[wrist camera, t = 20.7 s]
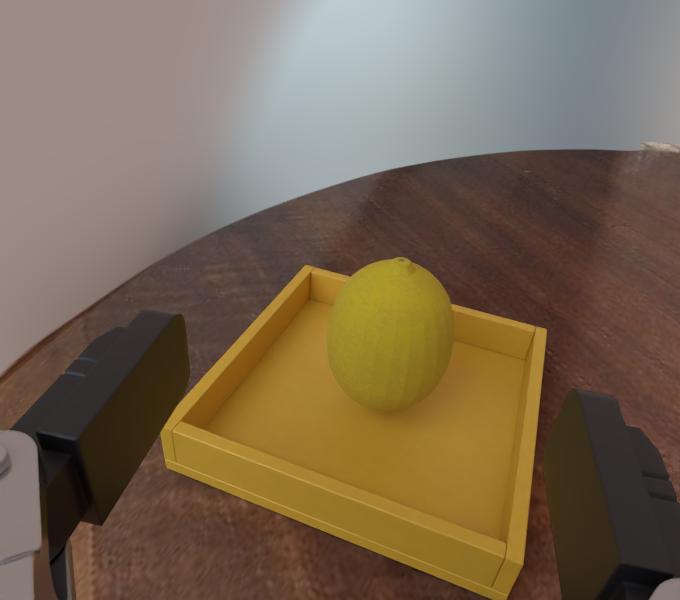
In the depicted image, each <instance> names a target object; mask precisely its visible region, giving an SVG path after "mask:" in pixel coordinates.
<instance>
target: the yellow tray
mask: <svg viewBox="0 0 680 600" xmlns="http://www.w3.org/2000/svg"><path fill="white" fill-rule="evenodd" d="M350 278H351V277H349V276H345V275H341V274H338V273H334V272H330V271H326V270H323V269H319V268H314V267H312V266H308V265H305V266H304V267H303V268H302V270H301V271H300V272H299V273H298V274H297V275H296V276H295V277H294V278H293V279H292V280H291V282H290V283H289V284H288V285H287V286H286V287H285V288H284V289H283V290H282V291H281V293H280V294H279V295H278V296H277V297H276V298H275V299H274V300H273V301H272V302H271V304H270V305H269V306H268V307H267V308H266V309H265V310H264V311H263V312H262V313H261V314H260V316H259V317H258V318H257V319H256V320H255V321H254V322H253V323H252V324H251V325H250V327H249V328H248V329H247V330H246V331H245V332H244V333H243V334H242V335H241V336H240V338H239V339H238V340H237V341H236V342H235V343H234V344H233V345H232V346H231V347H230V348H229V350H228V351H227V352H226V353H225V354H224V355H223V356H222V357H221V358H220V359H219V361H218V362H217V363H216V364H215V365H214V366H213V367H212V368H211V369H210V370H209V372H208V373H207V374H206V375H205V376H204V377H203V378H202V379H201V380H200V381H199V382H198V384H197V385H196V386H195V387H194V388H193V389H192V390H191V391H190V392H189V393H188V395H187V396H186V397H185V398H184V399H183V400H182V401H181V402H180V403H179V404H178V405H177V407H176V408H175V410H174V411H173V413H172V415H171V416H170V418H169V419H168V421H167V423H166V424H165V426H164V427H163V429H162V431H161V432H160V434H161V440H162V446H163V452H164V458H165V464H166V468H168V469H171V470H173V471H176V472H178V473H181V474H183V475H185V476H188V477H190V478H193V479H195V480H198V481H200V482H203V483H205V484H208V485H210V486H213V487H215V488H218V489H220V490H223V491H225V492H228V493H230V494H232V495H235V496H237V497H240V498H242V499H245V500H247V501H250V502H252V503H255V504H257V505H260V506H262V507H265V508H267V509H270V510H272V511H275V512H277V513H279V514H282V515H284V516H287V517H289V518H292V519H294V520H297V521H299V522H302V523H304V524H307V525H309V526H312V527H314V528H317V529H319V530H322V531H324V532H326V533H329V534H331V535H334V536H336V537H339V538H341V539H344V540H346V541H349V542H351V543H354V544H356V545H359V546H361V547H364V548H366V549H369V550H371V551H374V552H376V553H378V554H381V555H383V556H386V557H388V558H391V559H393V560H396V561H398V562H401V563H403V564H406V565H408V566H411V567H413V568H416V569H418V570H421V571H423V572H425V573H428V574H430V575H433V576H435V577H438V578H440V579H443V580H445V581H448V582H450V583H453V584H455V585H458V586H460V587H463V588H465V589H468V590H470V591H472V592H475V593H477V594H480V595H482V596H485V597H487V598H490V599H492V600H506V599H507V597H508V595H509V593H510V591H511V589H512V587H513V585H514V583H515V581H516V579H517V577H518V575H519V573H520V571H521V568H522V566H523V564H524V555H525V545H526V535H527V525H528V515H529V505H530V495H531V485H532V475H533V465H534V455H535V446H536V436H537V426H538V416H539V406H540V396H541V386H542V376H543V366H544V356H545V346H546V336H547V329H544V328H540V327H535V326H533V325H529V324H525V323H521V322H518V321H514V320H510V319H506V318H503V317H499V316H495V315H491V314H488V313H484V312H480V311H476V310H473V309H469V308H465V307H461V306H458V305H454V304H451V307H452V311H453V317H454V342H453V347H452V353H451V358H450V361H449V365H448V367H447V370H446V372H445V374H444V376H443V377H442V379H441V380H440V382H439V383H438V385H437V386H436V388H435V389H434V391H433V392H432V393H431V394H430V395H428V396H427V397H426V398H424V399H423V400H422V401H421V402H419V403H418V404H415V405H413V406H411V407H408V408H406V409H402V410H396V411H379V410H375V409H371V408H368V407H366V406H364V405H361V404H359V403H358V402H356V401H355V400H353V399H352V398H350V397H349V396H348V395H347V394H346V393H345V391H344V390H343V389H342V388H341V387H340V386H339V384H338V382H337V381H336V379H335V377H334V375H333V372H332V370H331V367H330V364H329V358H328V350H327V330H328V324H329V320H330V317H331V313H332V310H333V307H334V304H335V301H336V299H337V296H338V294H339V292H340V291H341V289H342V287H343V286H344V285H345V283H346V282H347V281H348V280H349V279H350Z"/></svg>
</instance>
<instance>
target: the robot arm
mask: <svg viewBox="0 0 680 600" xmlns="http://www.w3.org/2000/svg"><path fill="white" fill-rule="evenodd" d="M189 375H190V365H189V356H188V346H187V337H186V327H185V320H184V318H183V316H182V315H181V314H177V313H172V312H166V311H161V310H156V309H150V308H146V309H144V310H142V311H141V312H140V313H139V314H138V315H137V317H136V318H135V319H134V320H133V321H132V322H131V323H130V325H129V326H128V327H127V328H122V327H116V328H114V329H112V330H111V331H109V332H107V333H105V334H104V335H102V336H100V337H98V338H97V339H95V340H94V341H93V342H92V343H91V344H90V345H89V346H88V347H87V348H86V349H85V350H84V351H83V352H82V353H81V355H80V356H79V358H78V360H75V361H74V362H73V363H72V364H71V365H70V366H69V367H68V368H67V369H66V370H65V374H64V375H63V374H62V375H61V376H60V377H59V378H58V379H57V380H56V381H55V382H54V383H53V384H52V385H51V386H50V388H49V389H48V390H47V391H46V392H45V393H44V394H43V395H42V396H41V397H40V398H39V399H38V400H37V401H36V402H35V403H34V405H33V406H32V407H31V408H30V409H29V410H28V411H27V412H26V413H25V414H24V415H23V416H22V417H21V418H20V419H19V420H18V422H17V423H16V424H15V425H14V426H13V427H12V428H11V429H10V430H3V431H0V600H76V592H75V580H74V569H73V558H72V547H71V541H70V536H71V534H72V533H73V531H74V530H75V528H76V527H77V525H78V524H79V522H80V521H83V522H87V523H91V524H95V525H99V526H102V525H103V523H104V522H105V520H106V518H107V517H108V515H109V514H110V512H111V510H112V509H113V507H114V506H115V504H116V502H117V501H118V499H119V498H120V496H121V495H122V493H123V491H124V490H125V488H126V487H127V485H128V483H129V482H130V480H131V479H132V477H133V475H134V474H135V472H136V471H137V469H138V467H139V466H140V464H141V463H142V461H143V459H144V458H145V456H146V455H147V453H148V451H149V450H150V448H151V447H152V445H153V443H154V442H155V440H156V439H157V437H158V435H159V434H160V432H161V431H162V429H163V427H164V426H165V424H166V423H167V421H168V419H169V418H170V416H171V415H172V413H173V411H174V410H175V408H176V407H177V405H178V403H179V402H180V400H181V399H182V397H183V395H184V393H185V391H186V388H187V385H188V381H189ZM543 473H544V480H545V487H546V494H547V500H548V507H549V514H550V520H551V527H552V534H553V541H554V547H555V554H556V561H557V567H558V574H559V581H560V588H561V594H562V600H680V504H679V503H678V502H676V499H677V496H676V494H675V491H674V488H673V486H672V483H671V482H670V481H669V480H668V478H669V475H668V473H667V470H666V468H665V465H664V462H663V460H662V457H661V455H660V452H659V451H658V449H657V448H656V447H655V446H654V445H653V443H652V442H651V441H650V440H649V439H648V437H647V436H646V435H645V434H644V433H643V432H642V430H641V429H640V428H636V427H631V426H626V425H625V423H624V420H623V417H622V414H621V411H620V408H619V405H618V402H617V400H616V398H615V397H614V396H611V395H606V394H600V393H595V392H589V391H584V390H579V389H571V390H570V391H569V392H568V394H567V396H566V398H565V400H564V403H563V405H562V407H561V410H560V412H559V414H558V416H557V419H556V421H555V423H554V425H553V428H552V430H551V432H550V434H549V437H548V439H547V442H546V445H545V449H544V456H543Z"/></svg>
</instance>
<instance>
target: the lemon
mask: <svg viewBox="0 0 680 600" xmlns="http://www.w3.org/2000/svg"><path fill="white" fill-rule="evenodd" d="M453 342H454V317H453V311H452V307H451V303H450V299H449V296H448V294H447V292H446V290H445V289H444V287H443V286H442V285H441V283H440V282H439V281H438V279H437V278H436V277H434V276H433V275H432V274H431V273H430V272H429V271H428V270H426V269H424V268H423V267H421V266H419V265H417V264H415V263H412V262H410V261H409V260H408V259H406V258H403V257H398V258H395V259H389V260H382V261H378V262H375V263H372V264H370V265H367V266H365V267H364V268H362V269H361V270H359V271H358V272H356V273H355V274H353V275H352V277H351V278H350V279H349V280H348V281H347V282H346V283H345V285H344V286H343V287H342V289H341V291H340V292H339V294H338V296H337V299H336V301H335V304H334V307H333V310H332V313H331V317H330V320H329V324H328V330H327V350H328V358H329V364H330V367H331V370H332V372H333V375H334V377H335V379H336V381H337V382H338V384H339V386H340V387H341V388H342V389H343V390H344V391H345V393H346V394H347V395H348V396H349V397H350V398H352V399H353V400H355V401H356V402H358V403H359V404H361V405H364V406H366V407H368V408H371V409H375V410H379V411H396V410H402V409H406V408H408V407H411V406H413V405H415V404H418V403H419V402H421V401H422V400H423V399H424V398H426V397H427V396H428V395H430V394H431V393H432V392H433V391H434V389H435V388H436V386H437V385H438V383H439V382H440V380H441V379H442V377H443V376H444V374H445V372H446V370H447V367H448V365H449V361H450V358H451V353H452V347H453Z"/></svg>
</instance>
